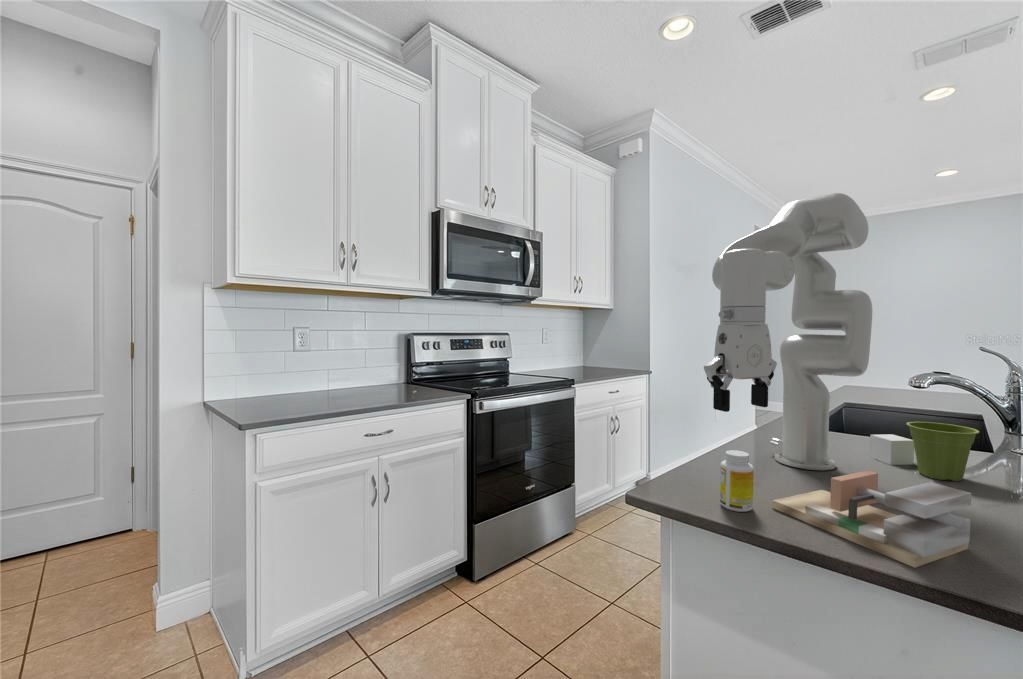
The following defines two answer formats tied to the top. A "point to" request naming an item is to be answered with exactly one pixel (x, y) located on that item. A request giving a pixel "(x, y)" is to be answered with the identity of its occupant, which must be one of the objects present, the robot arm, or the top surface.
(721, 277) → the robot arm
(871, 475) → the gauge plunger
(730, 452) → the supplement bottle
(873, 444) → the white cube
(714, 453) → the top surface
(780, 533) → the top surface
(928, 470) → the plant pot
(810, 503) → the frame
